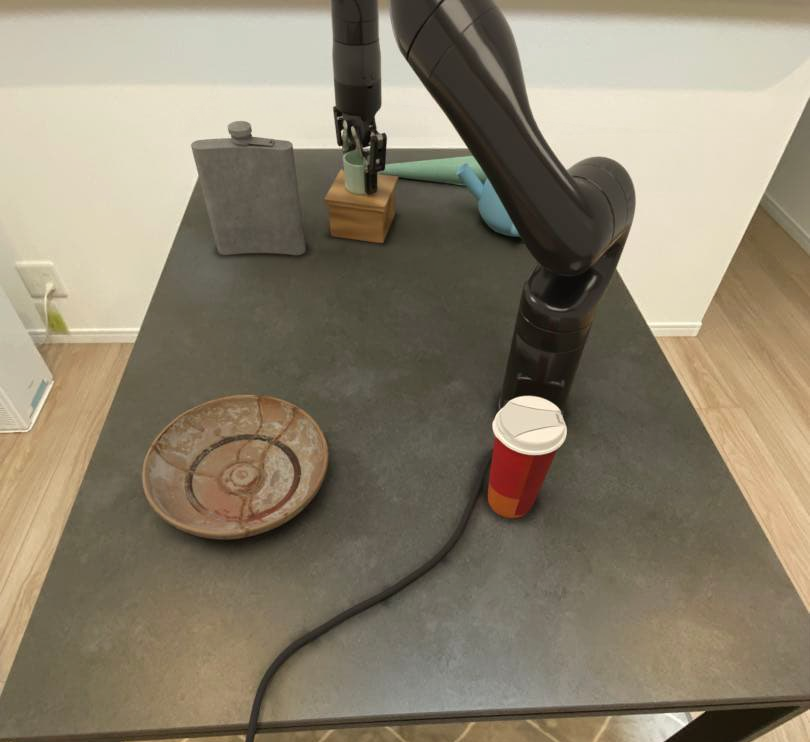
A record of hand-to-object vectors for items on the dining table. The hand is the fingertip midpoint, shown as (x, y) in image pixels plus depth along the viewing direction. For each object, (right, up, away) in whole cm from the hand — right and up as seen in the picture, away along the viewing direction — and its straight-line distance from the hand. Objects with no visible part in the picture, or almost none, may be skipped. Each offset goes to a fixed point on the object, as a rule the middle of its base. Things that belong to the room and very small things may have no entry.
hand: (361, 184), depth 108 cm
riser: (0, -4, +6) cm, 8 cm away
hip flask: (-18, -11, +2) cm, 21 cm away
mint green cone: (+12, +11, +16) cm, 23 cm away
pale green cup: (0, 0, 0) cm, 1 cm away
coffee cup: (+22, -59, -29) cm, 69 cm away
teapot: (+27, -3, +8) cm, 28 cm away
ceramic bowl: (-14, -56, -28) cm, 64 cm away
